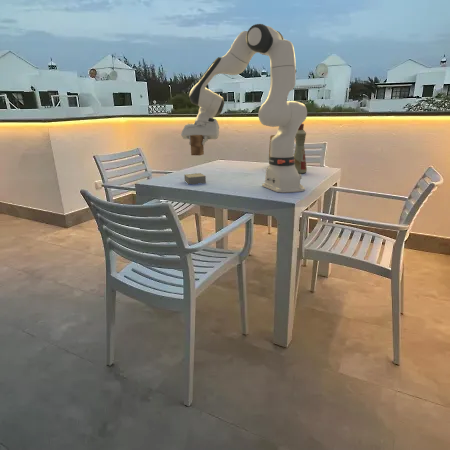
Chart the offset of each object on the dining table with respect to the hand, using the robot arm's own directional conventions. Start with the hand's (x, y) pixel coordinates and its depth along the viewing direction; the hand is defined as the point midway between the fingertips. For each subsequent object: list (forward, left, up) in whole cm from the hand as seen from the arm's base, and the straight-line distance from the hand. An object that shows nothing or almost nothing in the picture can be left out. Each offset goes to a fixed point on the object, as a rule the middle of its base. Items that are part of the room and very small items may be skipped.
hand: (196, 144), depth 171 cm
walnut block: (+1, 0, -5) cm, 5 cm away
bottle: (+5, -60, -19) cm, 63 cm away
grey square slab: (-3, +2, -19) cm, 20 cm away
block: (+29, -56, -19) cm, 66 cm away
